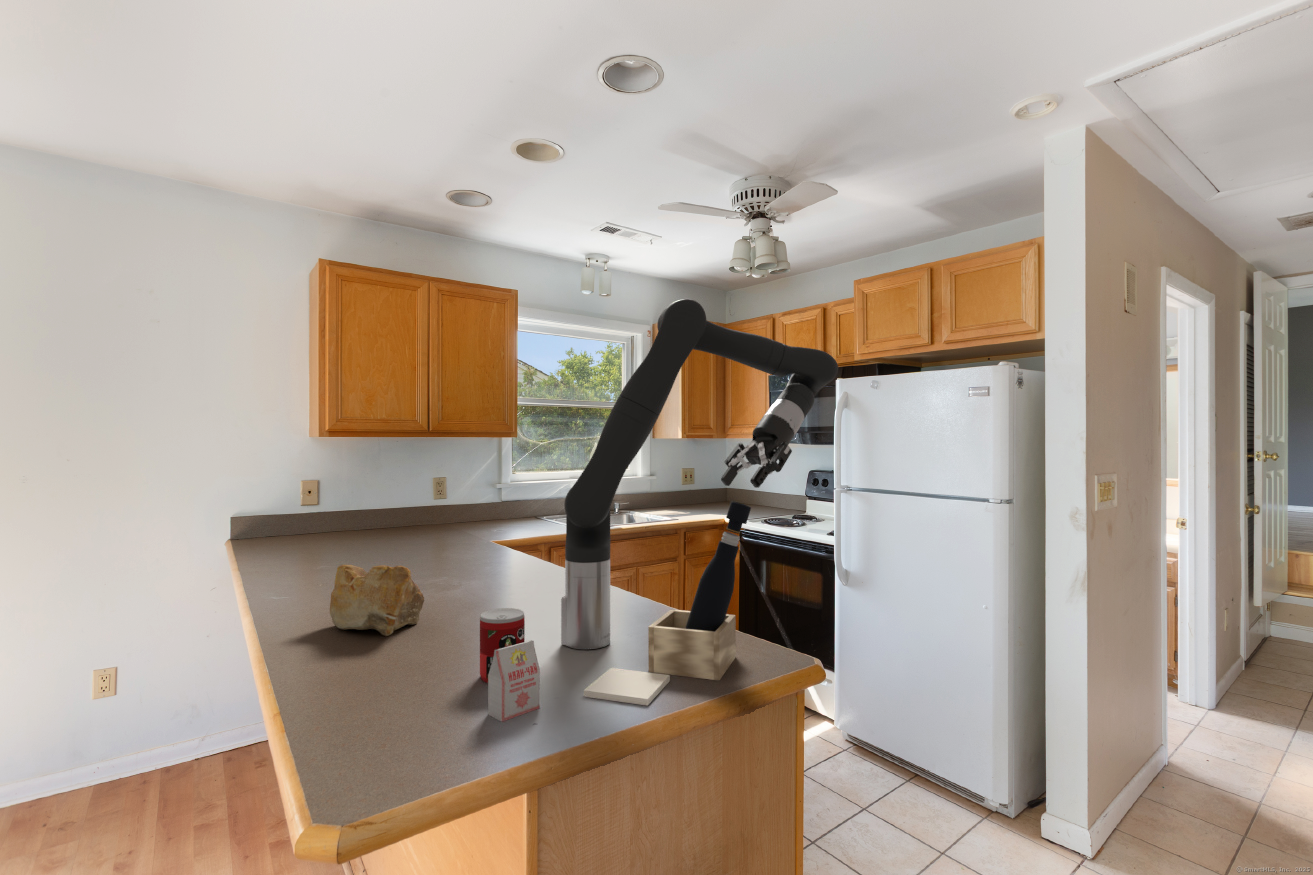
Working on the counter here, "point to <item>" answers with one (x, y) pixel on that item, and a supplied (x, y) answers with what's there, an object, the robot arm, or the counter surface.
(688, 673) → the pine crate
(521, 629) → the canned food
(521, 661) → the white paper bag
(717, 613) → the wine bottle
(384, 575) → the rough brown rock
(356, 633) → the counter surface
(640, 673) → the cream tile
